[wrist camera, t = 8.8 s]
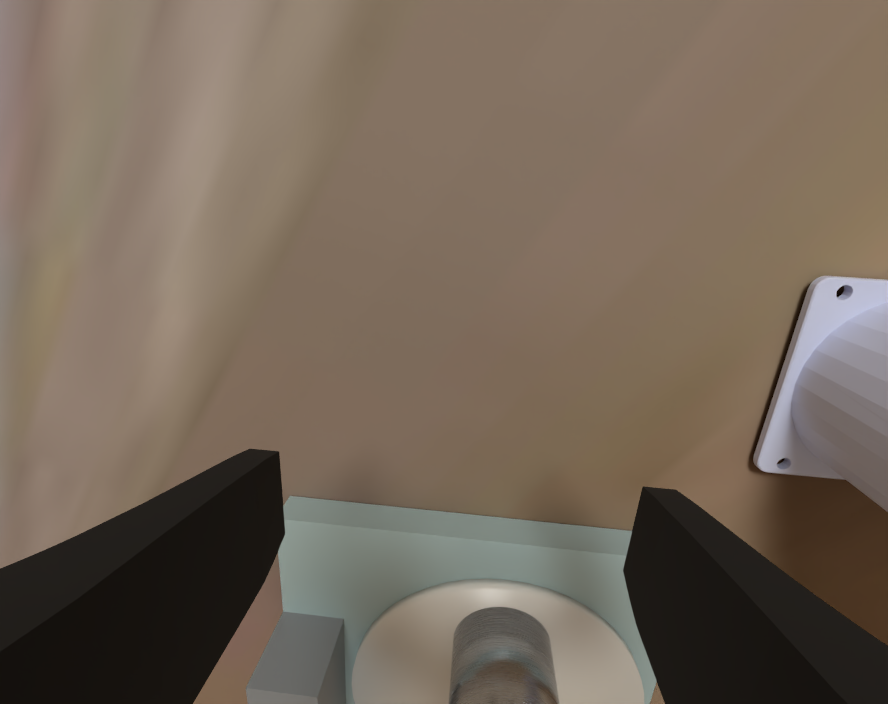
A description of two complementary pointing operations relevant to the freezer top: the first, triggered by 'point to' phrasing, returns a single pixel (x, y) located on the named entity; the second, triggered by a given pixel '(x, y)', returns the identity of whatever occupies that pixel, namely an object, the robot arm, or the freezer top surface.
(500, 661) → the cylinder
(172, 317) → the freezer top surface
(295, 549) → the scale
